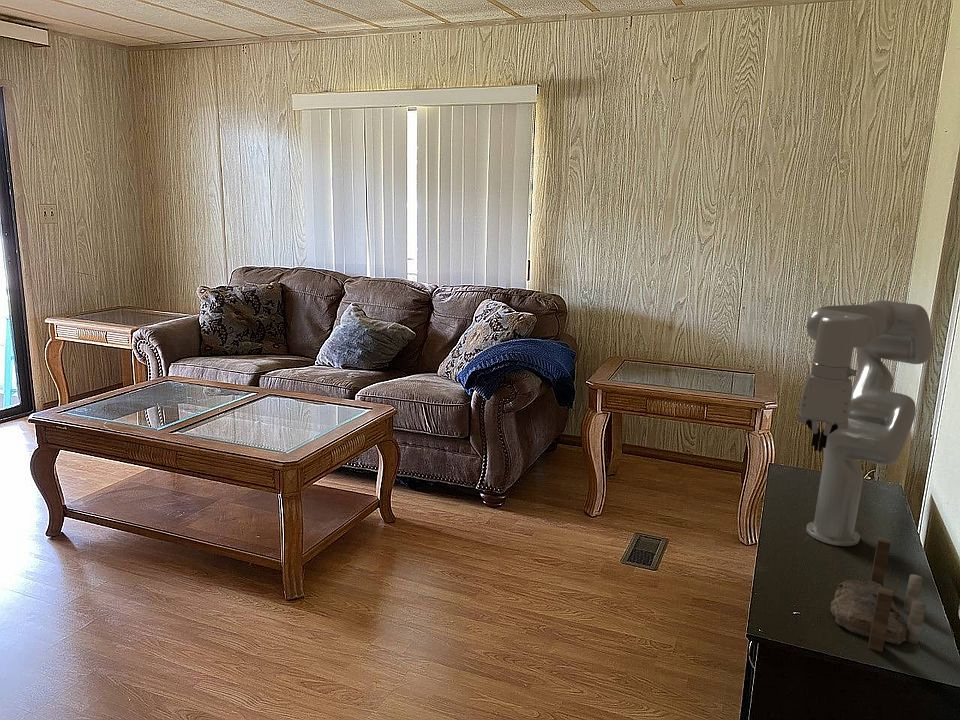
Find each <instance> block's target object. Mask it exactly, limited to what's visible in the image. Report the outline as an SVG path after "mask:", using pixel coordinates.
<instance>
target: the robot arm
mask: <svg viewBox="0 0 960 720" xmlns="http://www.w3.org/2000/svg"><path fill="white" fill-rule="evenodd" d="M931 330H932V329H931V321H930V317H929V315H928V312H927V310H926V309H925V308H924V307H923V306H921V305H920V304H914V303H908V302H899V301H893V300H892V301H891V300H874V301H872V302H868V303H865V304H847V305H845V304H843V305H841V304H840V305H825V306H820V307H818V308H816V309H815V310H813V312H811V313H810V315H809V317H808V319H807V322H806V331H807V332H806V333H807V335H808V336H809V338H810V339H811V340H812V341H813V340H814V341H815V346H814V353H813V362H812V367H811V373H807V376H806V378H805V381H804V384H803V389H802V392H801V393H802V394H801V398H800V404H799V409H798V415H797V416H796V417H797V418H796V421H797V422H799V423H802V424H803V425H807V427H808V428H809V429H810V431H811V432H812V440H811V447H812V446H813V447H814V448H813V451H814V452H817V451H818V452H819V453H821V452H822V450H823V461H822V463H823V464H822V469H821V476H820V480H819V488H818V494H817V499H816V500H817V501H816V506H815V507H816V508H815V514H814V519H813V521H811V522H808V523H807V524H806V528H805V530H806V533H807V534H808V535H809V536H810V537H811V538H813V539H815V540H817V541H819V542H821V543H824V544H829V545H833V546H838V547H852V546H856V545H857V544H859V542H860V538H861V536H860V534H859V533H858V532H857V531H856V530H855V527H856V522H857V516H858V511H859V505H860V499H861V494H862V489H863V487H862V486H863V482H864V472H863V468H862V466H861V465H860V462H859V461H860V460H861V461H864V462H868V463H871V464H876V465H880V466H887V467H888V466H893V465H894V464H895V463H896V462H897V461H898V459H899V457H900V455H901V453H902V451H903V448H904V446H905V443H906V441H907V439H908V436H909V434H910V431H911V429H912V426H913V424H914V420H915V418H916V411H917V407H916V402H915V400H914V399H913V398H912V397H910V396H909V395H907V394H903V393H900V392H899V393H898V392H893V391H891V390H892V387H893V385H894V378H893V375H892V373H891V372H890V370H889V369H888V367H887V366H886V365H885V363H884V362H883V361H882V360H888V361H894V362H899V363H906V364H910V365H922V364H924V363H925V362H927V360H928V359H930V356H931V355H932V350H933V337H932V331H931ZM854 348H856V363H857V369H853V368H852V367H851V365H852V359H853V358H852V356H853V352H854V351H853V350H854ZM853 376H854V377H856V378H855V380H854V382H852V379H851V378H850V377H853ZM819 422H821V423H825V426H824V429H822V431H820V430H821V429H820V427H819V426H820V425H819Z"/></svg>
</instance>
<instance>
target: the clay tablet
mask: <svg viewBox="0 0 960 720" xmlns="http://www.w3.org/2000/svg"><path fill="white" fill-rule="evenodd" d="M870 580H871V579H870ZM870 580H869V579H868V580H865V579H864V580H863V579H861V580H858V579H851V578H850V579H847V580H845V581H844V580H843V581H842V582H840V583H838V584H837V588H838V589H836V591H835V593H834V599H833V600H832V601H831V602H830V611H831V613H832V615H833V617H835V619H834V620H835V623H836V624H837V625H839V626H840V627H843V628H845V630H847V631H849V632H851V633H853V634H857V635H859V636H863V637H866V638H869V637H870V631H871V626H872V621H873V615H874V610H875V604H876V599H877V594H878V588H879V587H881V588H884V585H883V586H882V585H880V584H879V583H876V582H874V581H870ZM906 631H907V624H906V623H905V616H904V614H903V613H902V612H901V611H900V610H898V608H897V607H896V605H895V603H894V601H893V600H892V604H891V609H890V614H889V619H888V625H887V630H886V635H885V640H884V642H887V643H891V644H893V645H896V646H900V645H901V644H902V643H903V642H906V641H907V640H906V639H907V638H906V635H907V633H906Z"/></svg>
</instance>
